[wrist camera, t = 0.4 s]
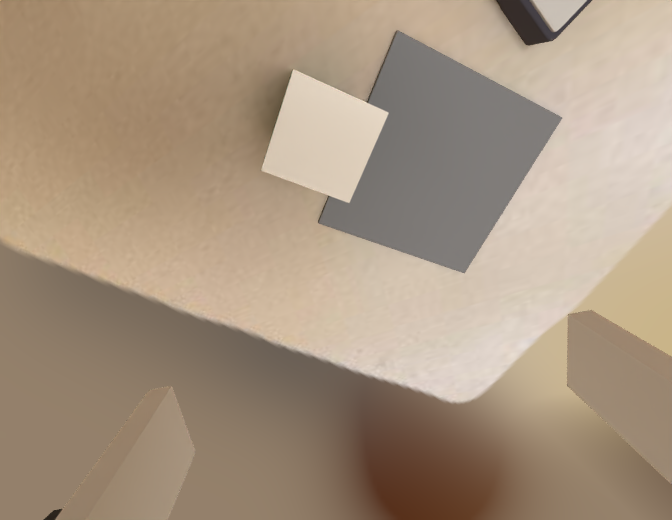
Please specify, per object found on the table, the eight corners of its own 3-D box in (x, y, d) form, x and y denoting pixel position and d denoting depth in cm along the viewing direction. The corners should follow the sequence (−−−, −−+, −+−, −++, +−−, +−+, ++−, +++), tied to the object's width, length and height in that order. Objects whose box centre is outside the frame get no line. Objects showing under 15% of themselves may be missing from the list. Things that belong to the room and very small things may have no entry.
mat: (396, 31, 30) (397, 30, 30) (558, 117, 35) (562, 117, 34) (318, 221, 37) (318, 223, 37) (462, 271, 42) (464, 273, 41)
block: (292, 70, 30) (293, 69, 20) (356, 99, 32) (388, 112, 22) (270, 138, 33) (261, 170, 22) (331, 162, 34) (349, 203, 24)
